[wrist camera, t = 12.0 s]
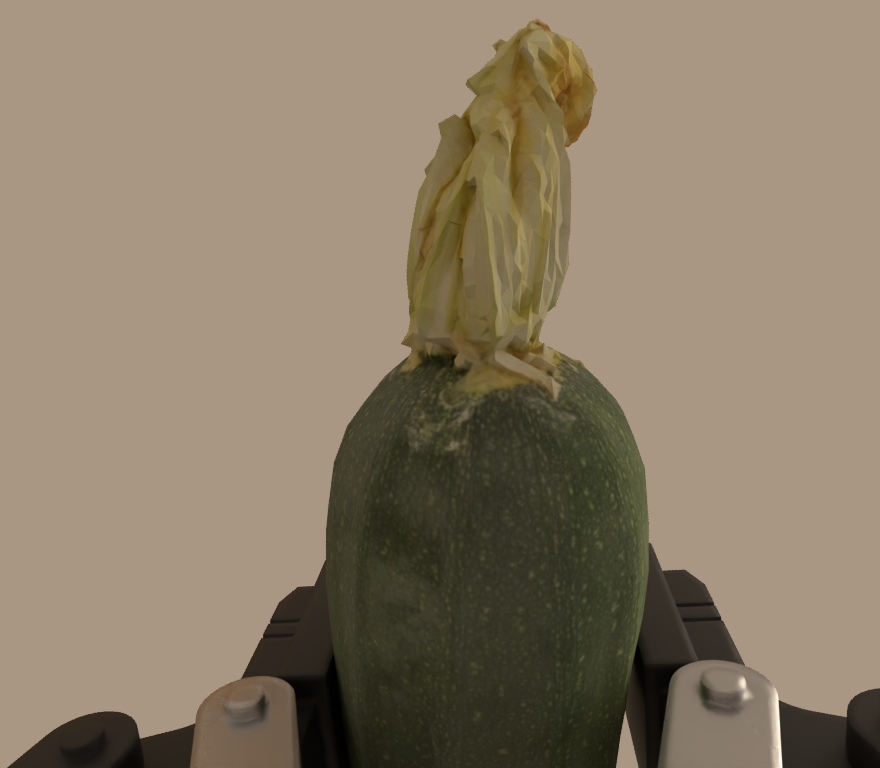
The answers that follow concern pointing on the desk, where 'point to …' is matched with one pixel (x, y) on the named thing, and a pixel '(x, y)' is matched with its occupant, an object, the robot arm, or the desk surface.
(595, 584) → the vegetable
